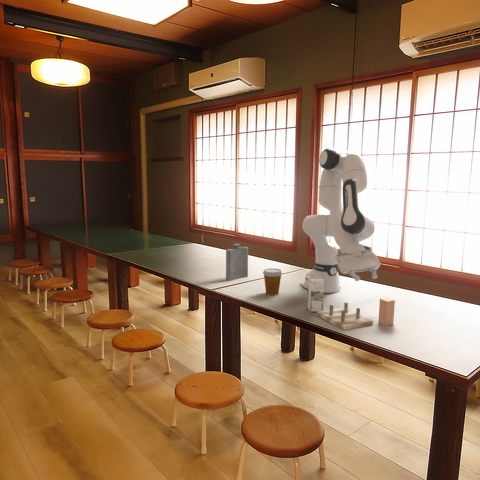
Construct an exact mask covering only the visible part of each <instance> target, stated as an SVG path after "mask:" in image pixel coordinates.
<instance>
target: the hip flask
mask: <svg viewBox="0 0 480 480" xmlns="http://www.w3.org/2000/svg"><path fill="white" fill-rule="evenodd" d="M232 246H233V248H229V249H228V248H227V249H226V250H225V281H226V282H232V281H235V280H239V279H242V278H243V279H244V278H248V276H249V247H248V246H240V243H233V245H232Z"/></svg>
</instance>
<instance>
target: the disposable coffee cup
mask: <svg viewBox="0 0 480 480" xmlns="http://www.w3.org/2000/svg"><path fill="white" fill-rule="evenodd" d="M262 274H263V277H264V279H263V280H264V288H265V294H266V295H268V296H276V295H279V294H280V286H281V279H282V274H283V272H282V270H281V269H279V268H274V267H273V268H272V267H271V268H265V269H264V270H263V272H262Z"/></svg>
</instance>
